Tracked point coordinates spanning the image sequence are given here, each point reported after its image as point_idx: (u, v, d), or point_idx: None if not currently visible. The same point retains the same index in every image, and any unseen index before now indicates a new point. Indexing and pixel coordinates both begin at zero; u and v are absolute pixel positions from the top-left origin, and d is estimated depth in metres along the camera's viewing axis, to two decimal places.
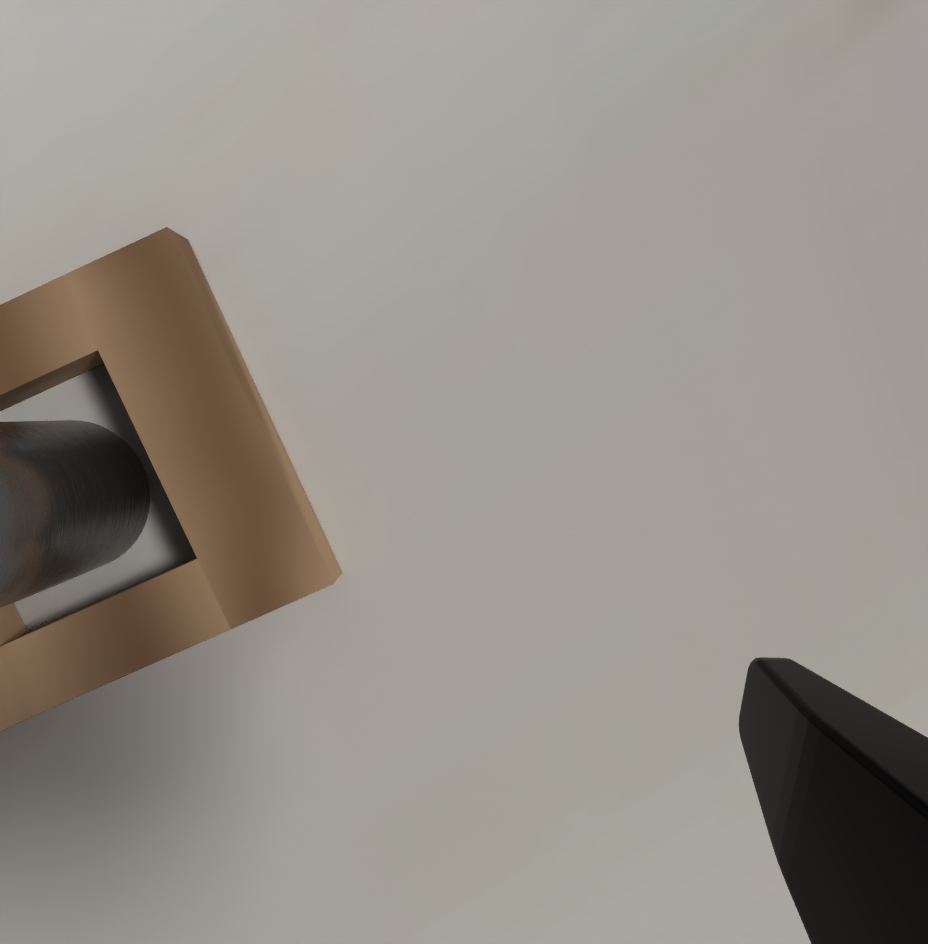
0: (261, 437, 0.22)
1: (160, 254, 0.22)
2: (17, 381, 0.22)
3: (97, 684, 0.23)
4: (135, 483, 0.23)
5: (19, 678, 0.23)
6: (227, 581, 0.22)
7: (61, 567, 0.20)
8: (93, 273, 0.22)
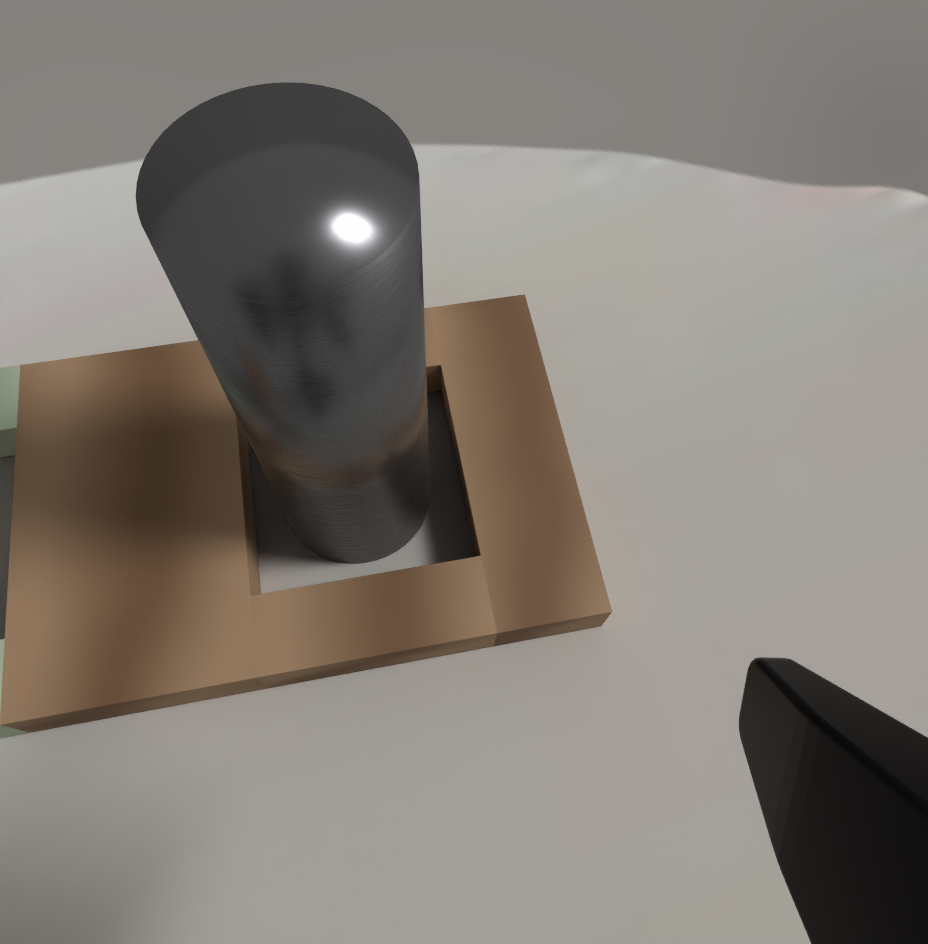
0: (568, 463, 0.23)
1: (514, 311, 0.26)
2: None
3: (340, 658, 0.21)
4: (429, 485, 0.24)
5: (260, 632, 0.21)
6: (505, 584, 0.22)
7: (395, 488, 0.20)
8: (455, 311, 0.26)
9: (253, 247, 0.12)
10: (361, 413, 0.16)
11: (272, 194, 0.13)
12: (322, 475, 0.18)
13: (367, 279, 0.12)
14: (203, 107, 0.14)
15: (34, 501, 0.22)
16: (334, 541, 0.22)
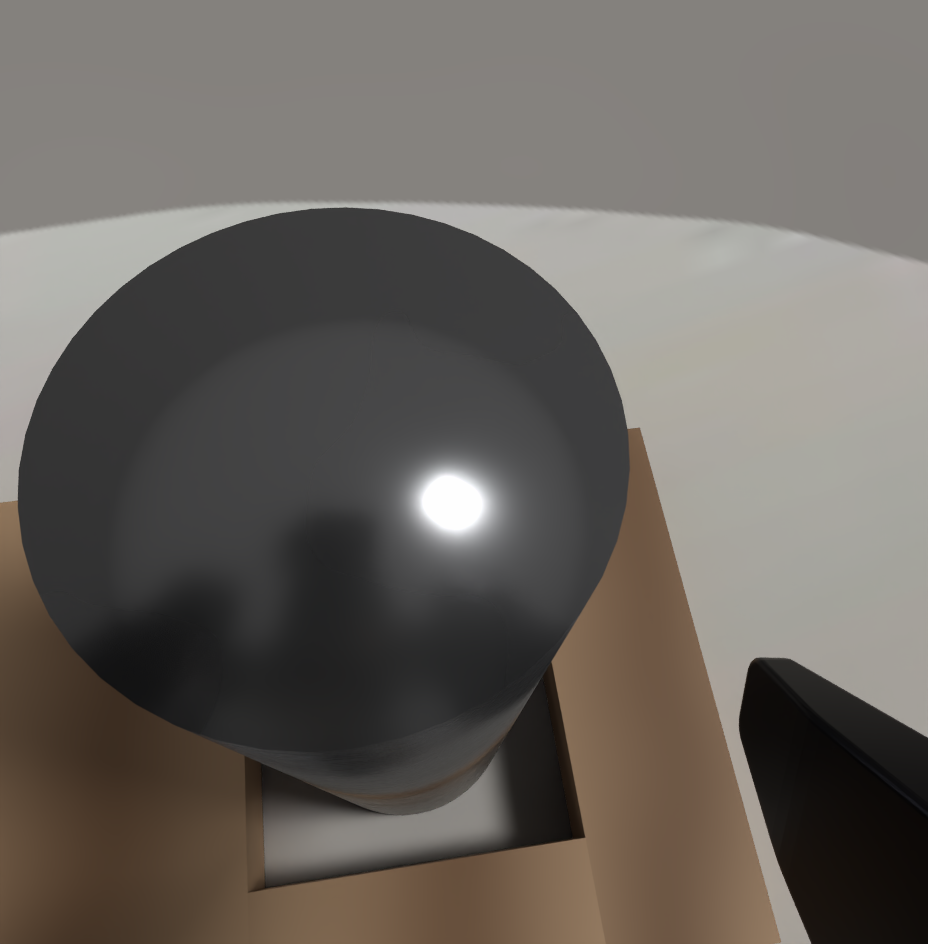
0: (708, 689, 0.16)
1: None
2: None
3: None
4: None
5: None
6: (622, 888, 0.15)
7: (474, 773, 0.13)
8: None
9: (267, 616, 0.05)
10: (451, 770, 0.09)
11: (314, 470, 0.06)
12: (369, 800, 0.11)
13: (518, 682, 0.06)
14: (183, 254, 0.07)
15: None
16: (373, 809, 0.15)
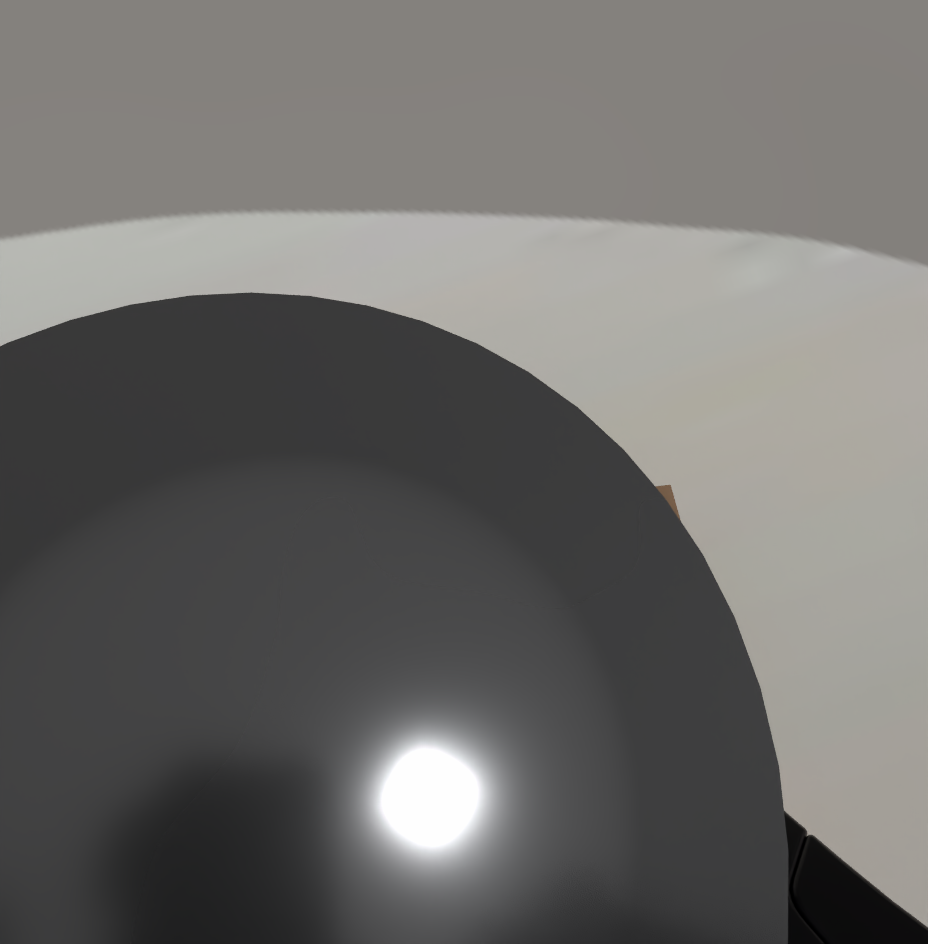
0: None
1: None
2: None
3: None
4: None
5: None
6: None
7: None
8: None
9: None
10: None
11: (153, 864, 0.03)
12: None
13: None
14: None
15: None
16: None
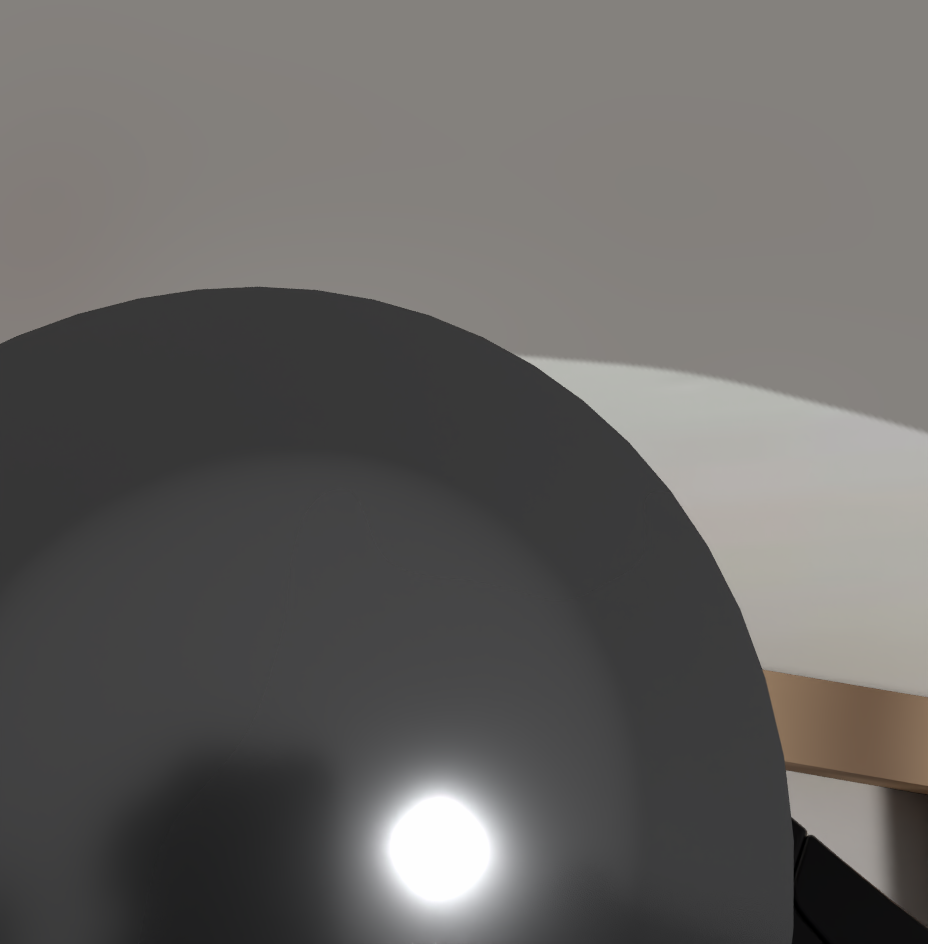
0: None
1: None
2: (874, 770, 0.20)
3: None
4: None
5: None
6: None
7: None
8: None
9: None
10: None
11: (162, 854, 0.03)
12: None
13: None
14: None
15: None
16: None
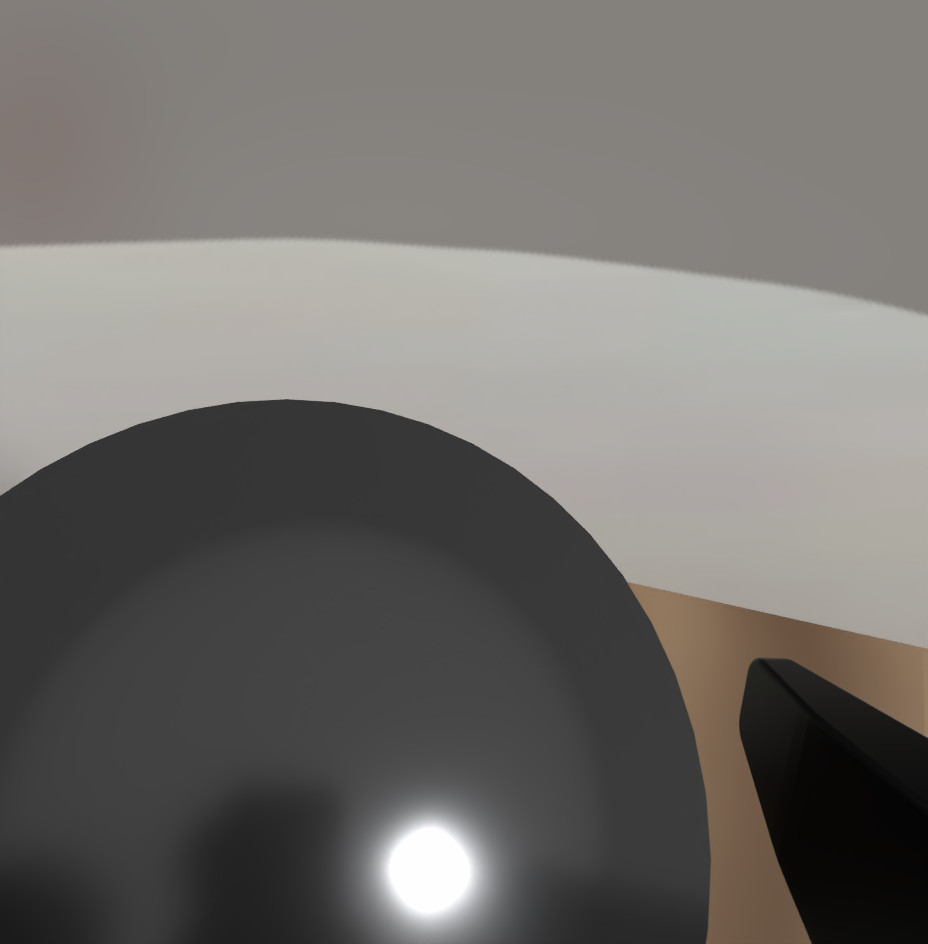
0: None
1: None
2: None
3: None
4: None
5: None
6: None
7: None
8: None
9: None
10: None
11: (219, 870, 0.04)
12: None
13: None
14: (48, 475, 0.05)
15: None
16: None
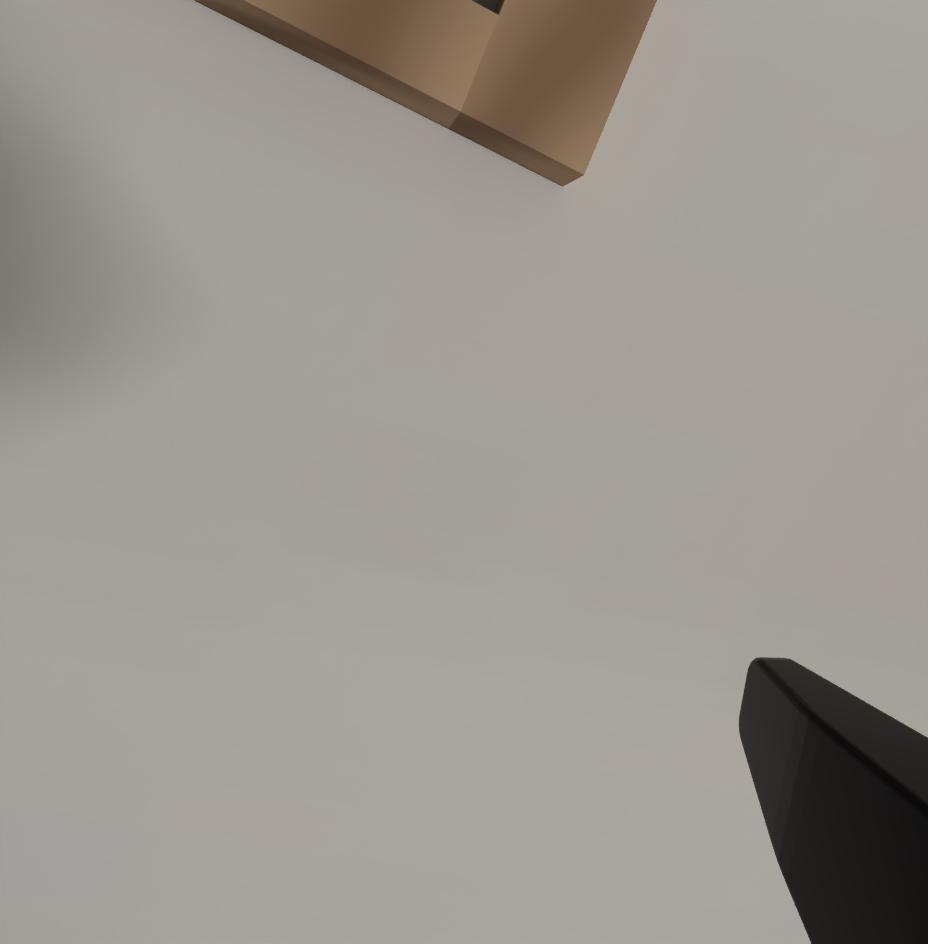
0: None
1: None
2: None
3: (282, 15, 0.17)
4: None
5: None
6: (502, 66, 0.18)
7: None
8: None
9: None
10: None
11: None
12: None
13: None
14: None
15: None
16: None
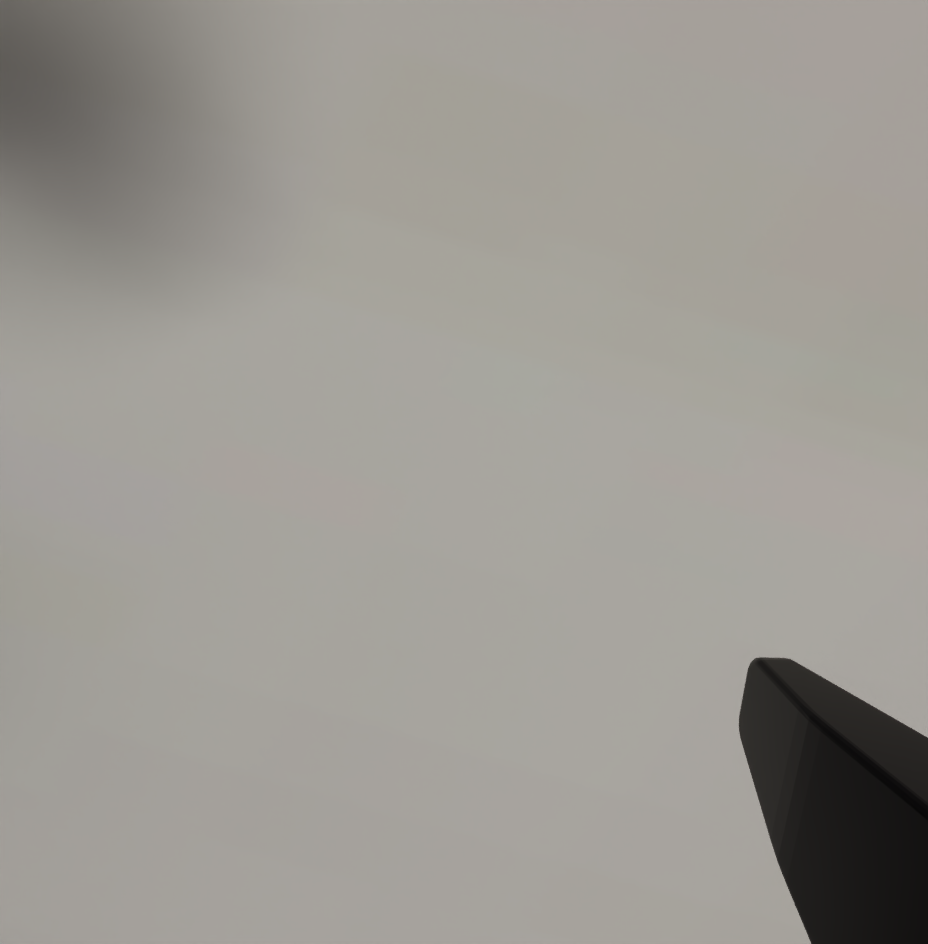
0: None
1: None
2: None
3: None
4: None
5: None
6: None
7: None
8: None
9: None
10: None
11: None
12: None
13: None
14: None
15: None
16: None
